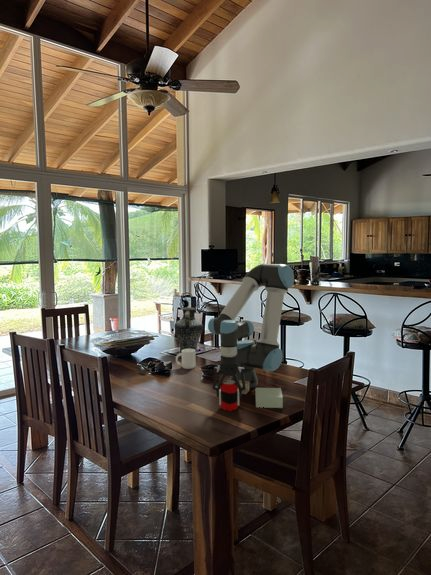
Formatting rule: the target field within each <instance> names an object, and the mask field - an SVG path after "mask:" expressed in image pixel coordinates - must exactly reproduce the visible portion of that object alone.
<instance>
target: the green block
mask: <svg viewBox="0 0 431 575" xmlns="http://www.w3.org/2000/svg"><path fill="white" fill-rule="evenodd" d="M283 402H284V399H283V392H282V387H255V408H259V407H260V408H263V407H264V408H265V409H266V408H267V409H268V408H269V409H274V408H275V409H276V408H277V409H283V407H284V406H283V405H284V404H283ZM260 408H259V409H260Z"/></svg>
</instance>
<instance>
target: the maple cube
mask: <svg viewBox="0 0 431 575" xmlns="http://www.w3.org/2000/svg"><path fill="white" fill-rule="evenodd" d="M239 383H240V385H241V387H243V385H242V380H240V381H239ZM245 385H246V390H242V395H247V394H248V393H249V392H250V389H249V381H245ZM238 390H239V389H238Z"/></svg>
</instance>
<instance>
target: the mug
mask: <svg viewBox="0 0 431 575" xmlns="http://www.w3.org/2000/svg"><path fill="white" fill-rule="evenodd" d="M179 357H181V362H179ZM175 364H177V365H179V366H181V367H182V369H185V370H189V369H190V370H191V369H194V368H196V351H195V350H194V349H183V350H182V351H180V352H179V353H177V355H176V356H175Z"/></svg>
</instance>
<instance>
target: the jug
mask: <svg viewBox="0 0 431 575" xmlns="http://www.w3.org/2000/svg"><path fill="white" fill-rule="evenodd" d="M196 310H197V308H195V307H192V306H191V307H182V314H183V316H182V318H181V319H179V320H177V321H176V322H175V323H174V331H175V332H174V333H175V334H176V337H177V340H178V344H179V351H180V352H181V351H182V350H183V349H194V350H195V352H196V351H197V348H198V347H197V346H198V344H199V340H200V338H201V336H202V333H203V329H204V325H203V323H202V322H201V321H200V320H198V319H196V316H195V314H196Z"/></svg>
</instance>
